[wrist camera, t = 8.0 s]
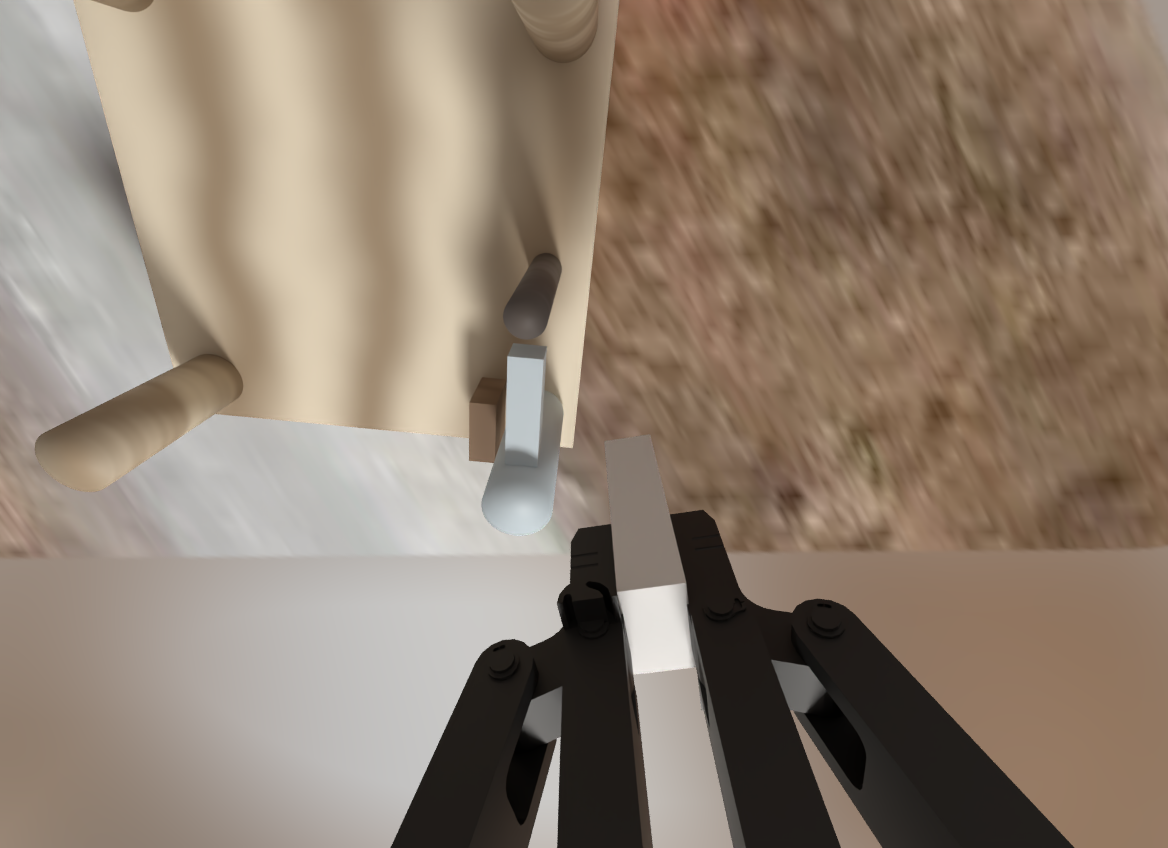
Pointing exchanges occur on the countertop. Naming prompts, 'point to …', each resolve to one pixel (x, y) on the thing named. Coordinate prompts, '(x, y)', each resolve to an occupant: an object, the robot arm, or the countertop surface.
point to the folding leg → (525, 448)
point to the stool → (349, 210)
